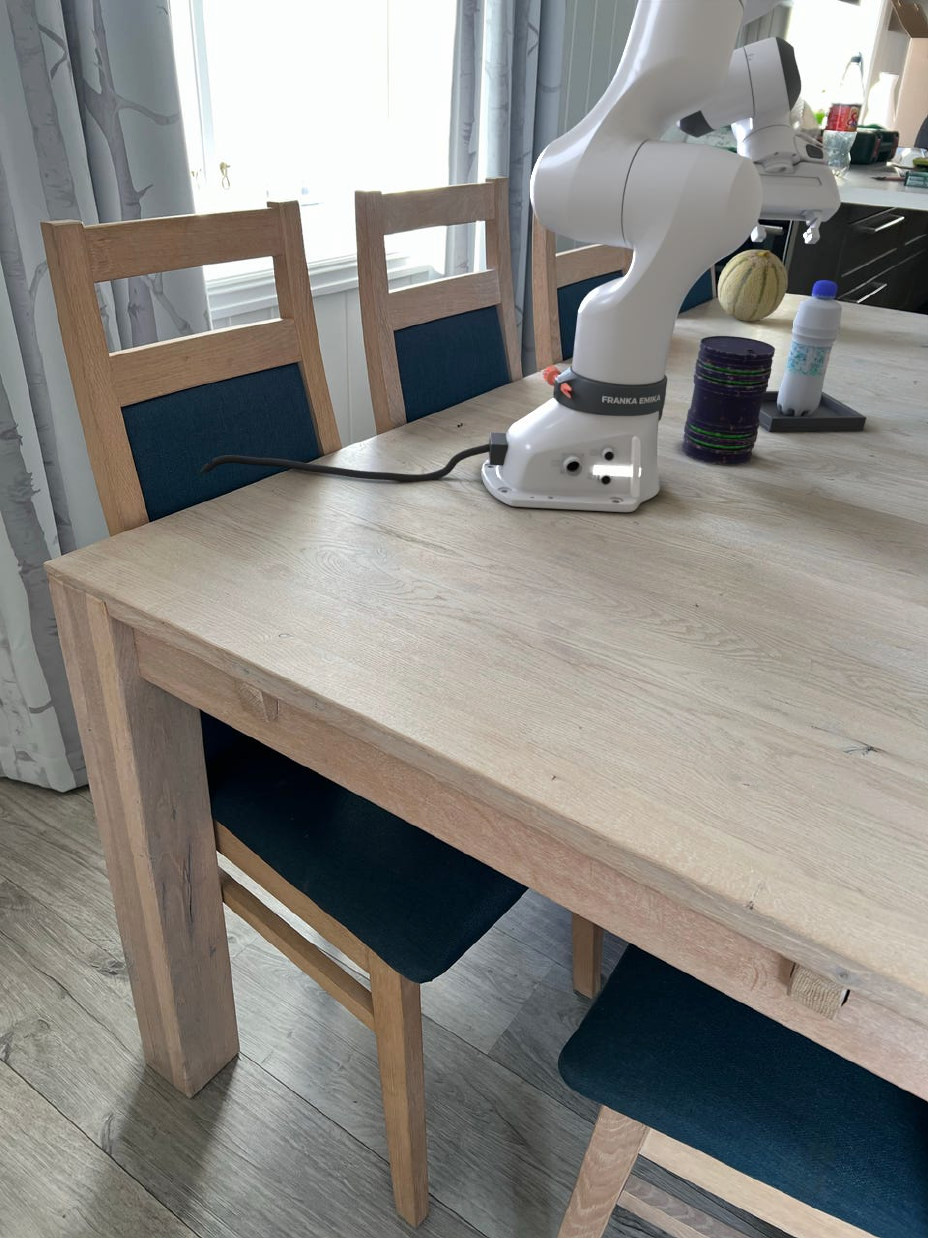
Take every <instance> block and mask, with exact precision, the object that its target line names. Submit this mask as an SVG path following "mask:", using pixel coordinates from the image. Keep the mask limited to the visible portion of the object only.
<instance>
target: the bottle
mask: <svg viewBox="0 0 928 1238" xmlns="http://www.w3.org/2000/svg"><path fill="white" fill-rule="evenodd" d="M837 292H838V285H837V283H836V282H834V281H832V280H827V279H822V280H818V281H816V282H815V283H814V284H813V287H812V291H811V296H810V297H808V298H805V299H803V300H801V301H800V303H799V306H798V309H797V312H796V314H795V317H794V319H793V322H792V323H793V324H792V325H793V326H792V329H791V333H792V339H791V343H790V348H789V352H788V356H787V361H786V365H785V370H784V373H783V377H782V380H781V383H780V386H779V389H778V391H779V394H778V399H777V407H778V409H779V411H781V412H783V413H784V414H785V415H789V413H790V411H791V409H792V410H794V411H795V417H800V415H801V414H802V412H803V411H804V417H808V416H811V415H812V414H813V413H814V412H815V411H816V410H817V408H818V406H819V403H820V399H821V394H822V392H823V387H824V381H825V378H826V377H825V376H826V372H827V369H828V365H829V360H830V357H831V353H832V349H833V345H834V342H835V340H836V339H837V338H838V332H839V330H840V329H841V320H842V319H841V318H842V310H843V306H842V304H840V303H839V302H838V301H836V300H835V298H836V296H837Z"/></svg>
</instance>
